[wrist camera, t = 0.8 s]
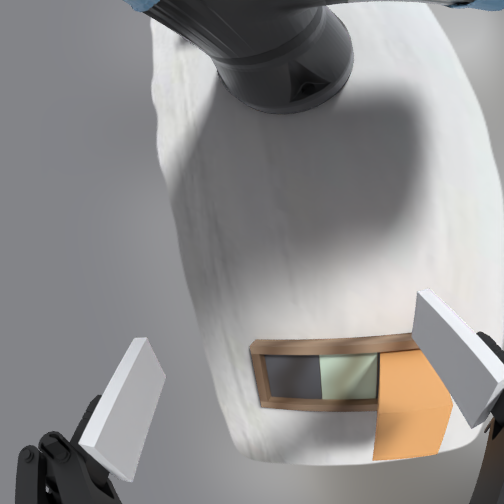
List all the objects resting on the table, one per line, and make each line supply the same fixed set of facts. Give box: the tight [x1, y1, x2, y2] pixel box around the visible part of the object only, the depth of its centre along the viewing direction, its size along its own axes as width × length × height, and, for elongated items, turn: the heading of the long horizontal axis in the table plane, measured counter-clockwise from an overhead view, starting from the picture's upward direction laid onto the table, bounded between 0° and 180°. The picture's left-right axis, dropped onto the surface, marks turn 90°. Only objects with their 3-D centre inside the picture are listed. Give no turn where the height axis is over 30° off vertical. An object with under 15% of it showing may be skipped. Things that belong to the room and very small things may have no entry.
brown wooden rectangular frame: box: [250, 333, 419, 412], centre depth 27 cm, size 22×9×2 cm, turn 99°
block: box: [372, 348, 453, 461], centre depth 20 cm, size 6×6×10 cm
